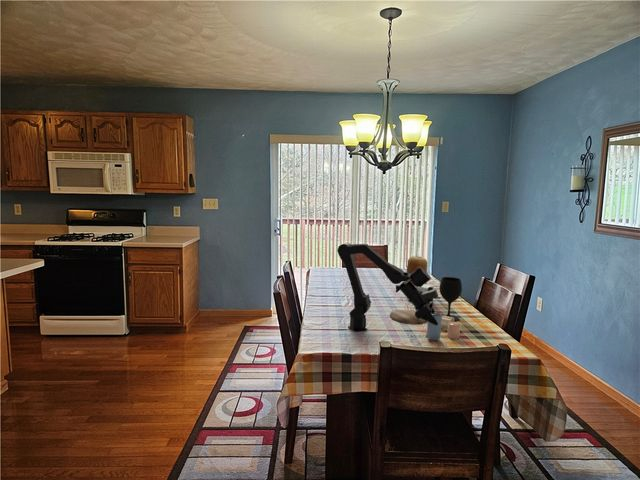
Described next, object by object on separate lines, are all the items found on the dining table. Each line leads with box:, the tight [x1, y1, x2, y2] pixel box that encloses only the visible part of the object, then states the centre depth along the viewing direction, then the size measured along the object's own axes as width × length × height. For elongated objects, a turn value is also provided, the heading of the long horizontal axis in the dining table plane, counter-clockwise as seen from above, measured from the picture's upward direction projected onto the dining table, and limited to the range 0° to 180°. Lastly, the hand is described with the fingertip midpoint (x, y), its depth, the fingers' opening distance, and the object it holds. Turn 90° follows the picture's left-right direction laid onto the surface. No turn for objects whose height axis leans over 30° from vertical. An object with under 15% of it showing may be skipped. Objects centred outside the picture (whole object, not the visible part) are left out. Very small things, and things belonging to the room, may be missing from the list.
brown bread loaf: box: [389, 309, 427, 325], centre depth 192 cm, size 18×18×1 cm
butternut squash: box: [404, 255, 428, 286], centre depth 227 cm, size 14×13×25 cm
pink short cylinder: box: [446, 321, 461, 340], centre depth 166 cm, size 5×5×6 cm
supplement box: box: [413, 283, 435, 309], centre depth 208 cm, size 7×7×13 cm
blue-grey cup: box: [426, 311, 443, 341], centre depth 163 cm, size 6×6×10 cm
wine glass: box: [439, 276, 463, 323], centre depth 192 cm, size 10×10×20 cm
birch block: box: [441, 316, 454, 332], centre depth 178 cm, size 5×5×5 cm
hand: (437, 322), depth 162 cm, fingers closed on blue-grey cup, 6 cm apart
